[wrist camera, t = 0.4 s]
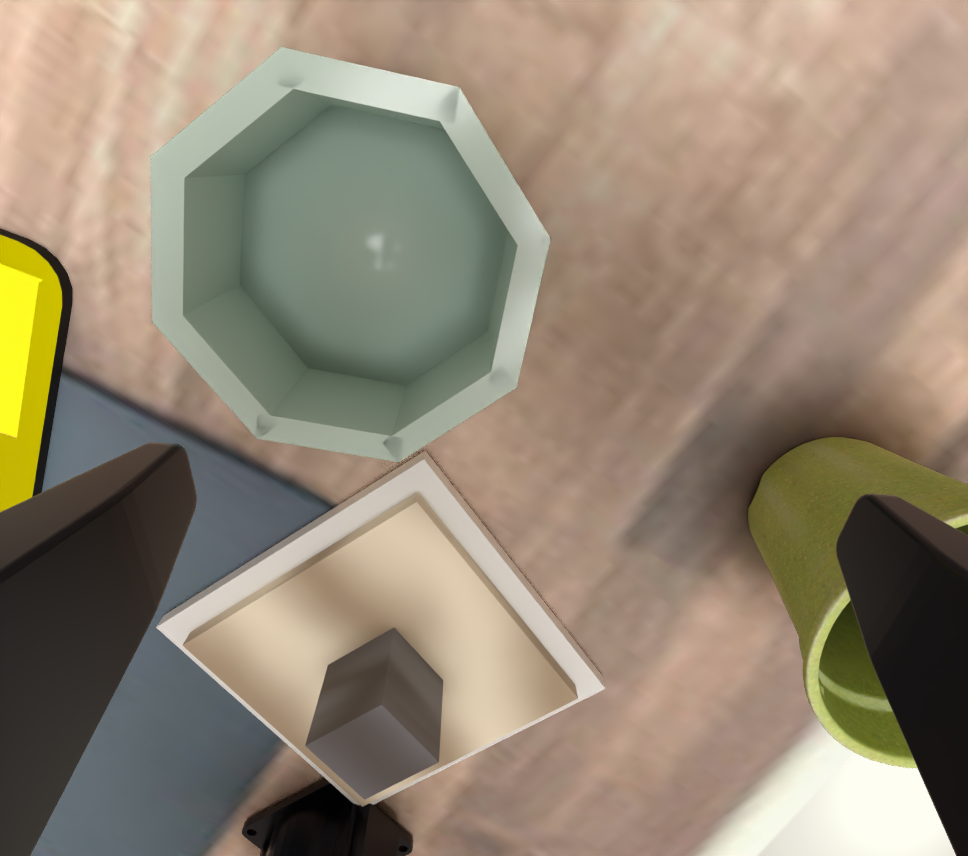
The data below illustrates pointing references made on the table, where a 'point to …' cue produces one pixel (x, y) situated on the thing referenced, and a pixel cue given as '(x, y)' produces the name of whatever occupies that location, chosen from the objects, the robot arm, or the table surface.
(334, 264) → the bowl
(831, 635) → the plant pot
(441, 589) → the lid
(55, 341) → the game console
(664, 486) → the table surface
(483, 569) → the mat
